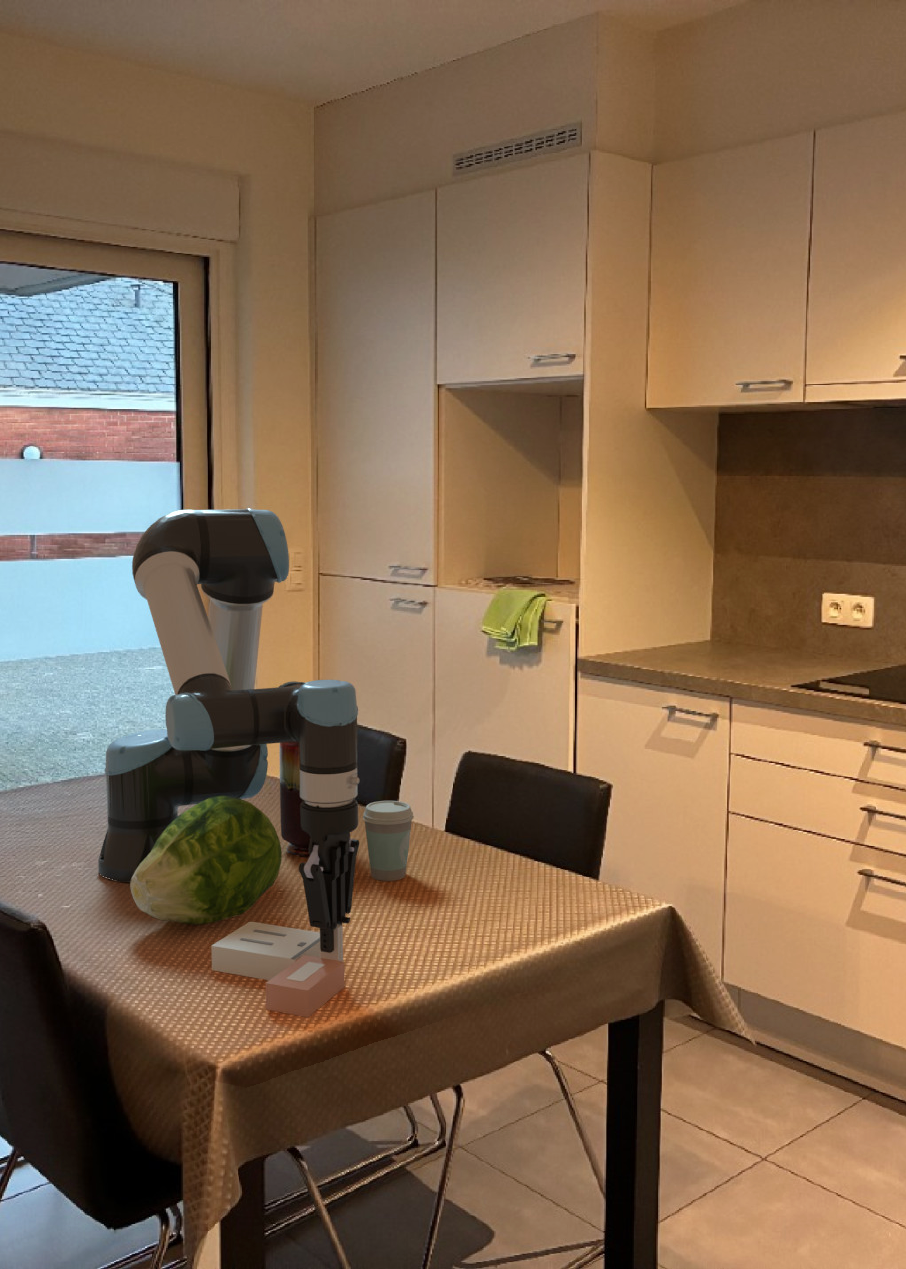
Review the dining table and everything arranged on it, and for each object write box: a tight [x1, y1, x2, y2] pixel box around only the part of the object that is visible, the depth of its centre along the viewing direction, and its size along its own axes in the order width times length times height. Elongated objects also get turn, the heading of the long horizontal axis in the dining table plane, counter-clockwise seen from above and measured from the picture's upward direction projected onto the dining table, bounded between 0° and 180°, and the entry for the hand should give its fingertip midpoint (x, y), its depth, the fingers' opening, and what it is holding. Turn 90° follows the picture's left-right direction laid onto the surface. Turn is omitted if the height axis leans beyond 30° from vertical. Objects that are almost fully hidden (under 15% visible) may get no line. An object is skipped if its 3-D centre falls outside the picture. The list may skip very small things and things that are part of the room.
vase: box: [278, 742, 310, 858], centre depth 224 cm, size 11×11×26 cm
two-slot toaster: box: [210, 921, 320, 981], centre depth 172 cm, size 13×10×4 cm
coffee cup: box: [362, 800, 415, 882], centre depth 210 cm, size 9×9×12 cm
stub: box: [265, 955, 345, 1018], centre depth 161 cm, size 6×10×4 cm, turn 158°
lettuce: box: [129, 796, 283, 926], centre depth 189 cm, size 19×23×18 cm
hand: (331, 971), depth 166 cm, fingers closed
